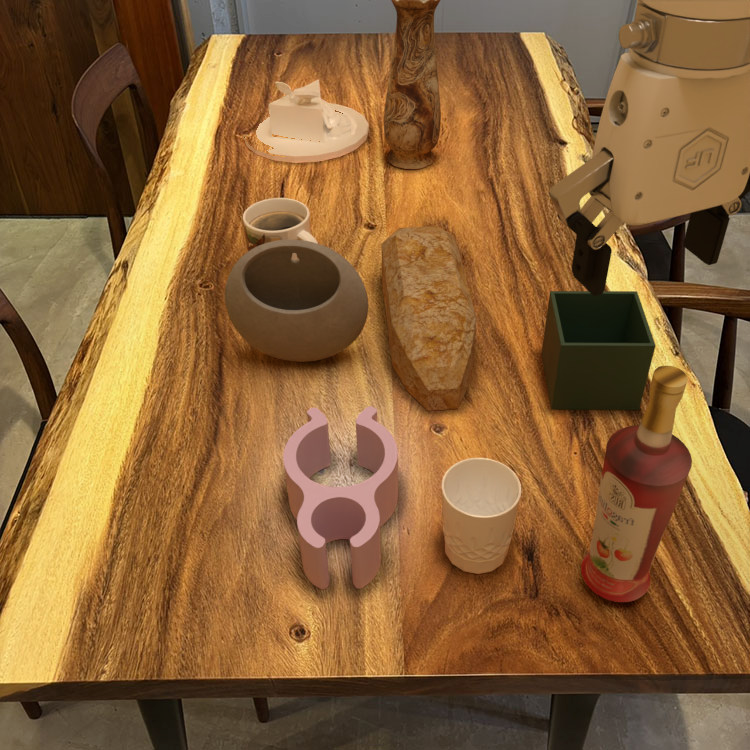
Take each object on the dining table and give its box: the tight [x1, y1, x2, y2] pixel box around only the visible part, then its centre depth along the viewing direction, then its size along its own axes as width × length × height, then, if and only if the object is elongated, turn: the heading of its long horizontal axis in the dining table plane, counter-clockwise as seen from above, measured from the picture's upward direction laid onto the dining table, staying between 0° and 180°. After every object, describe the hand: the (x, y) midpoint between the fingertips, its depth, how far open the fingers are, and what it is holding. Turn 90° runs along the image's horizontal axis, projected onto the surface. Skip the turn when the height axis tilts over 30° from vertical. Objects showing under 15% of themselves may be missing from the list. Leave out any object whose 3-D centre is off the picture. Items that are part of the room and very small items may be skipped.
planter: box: [224, 240, 369, 363], centre depth 108 cm, size 18×7×19 cm, turn 88°
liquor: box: [580, 365, 693, 603], centre depth 77 cm, size 7×7×28 cm
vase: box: [383, 0, 442, 170], centre depth 148 cm, size 10×11×30 cm
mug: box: [242, 197, 319, 260], centre depth 125 cm, size 10×12×11 cm
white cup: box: [441, 457, 522, 575], centre depth 86 cm, size 8×8×10 cm
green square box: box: [540, 290, 656, 411], centre depth 106 cm, size 11×11×10 cm
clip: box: [282, 406, 399, 590], centre depth 92 cm, size 20×12×7 cm, turn 0°
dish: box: [242, 79, 370, 164], centre depth 163 cm, size 25×25×11 cm
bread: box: [380, 225, 477, 411], centre depth 116 cm, size 36×11×10 cm, turn 4°
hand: (644, 270), depth 62 cm, fingers open, 9 cm apart
